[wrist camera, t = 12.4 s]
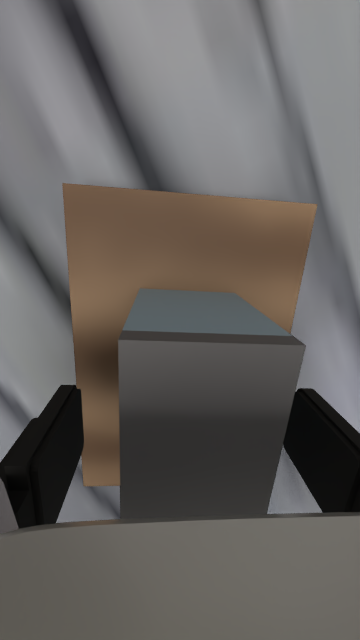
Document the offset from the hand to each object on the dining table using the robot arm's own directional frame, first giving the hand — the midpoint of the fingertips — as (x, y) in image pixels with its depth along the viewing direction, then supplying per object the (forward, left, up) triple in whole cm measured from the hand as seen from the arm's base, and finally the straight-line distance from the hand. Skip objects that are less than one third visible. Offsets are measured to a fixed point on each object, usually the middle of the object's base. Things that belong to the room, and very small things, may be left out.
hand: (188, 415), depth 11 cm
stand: (0, 0, -7) cm, 7 cm away
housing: (0, 0, -4) cm, 4 cm away
